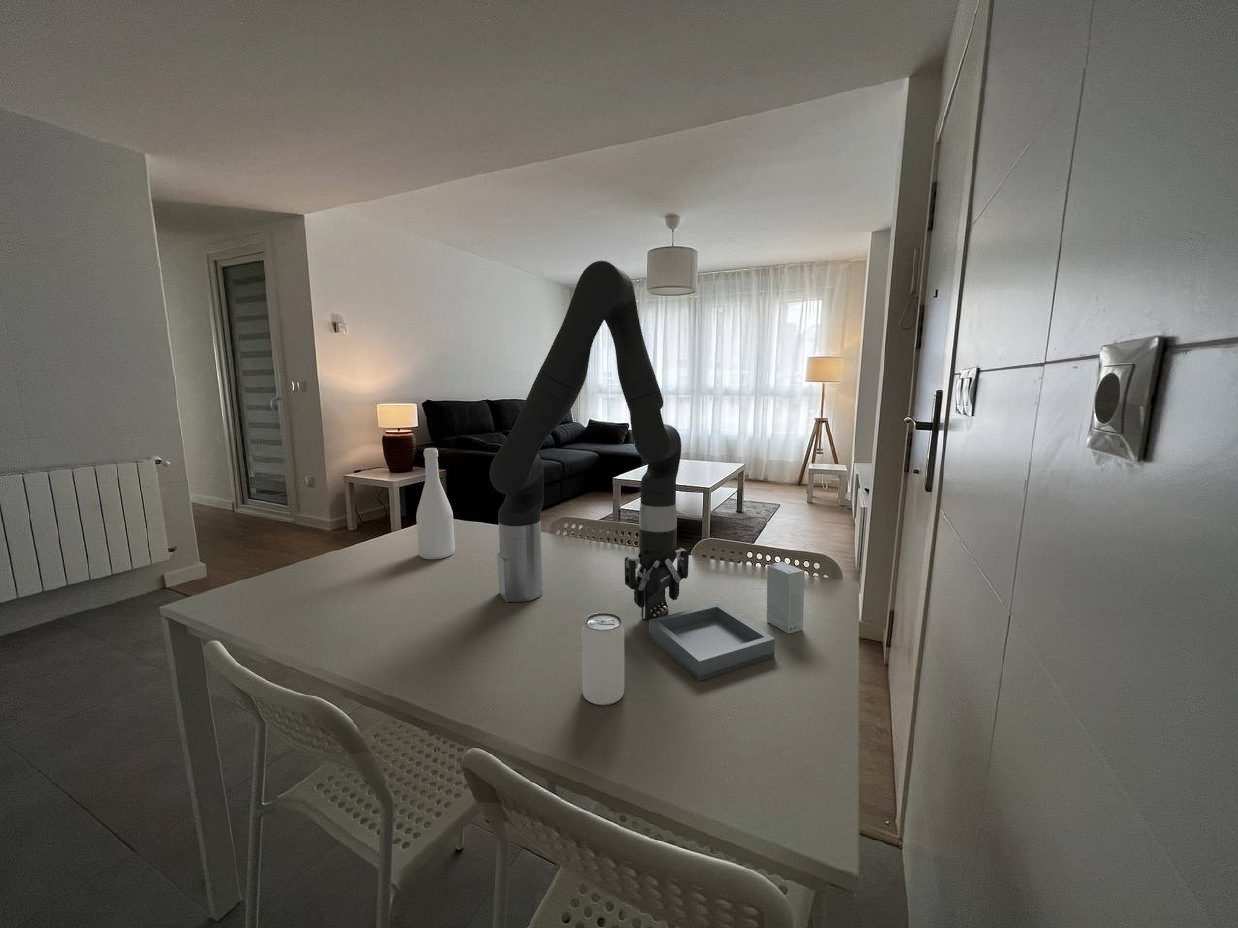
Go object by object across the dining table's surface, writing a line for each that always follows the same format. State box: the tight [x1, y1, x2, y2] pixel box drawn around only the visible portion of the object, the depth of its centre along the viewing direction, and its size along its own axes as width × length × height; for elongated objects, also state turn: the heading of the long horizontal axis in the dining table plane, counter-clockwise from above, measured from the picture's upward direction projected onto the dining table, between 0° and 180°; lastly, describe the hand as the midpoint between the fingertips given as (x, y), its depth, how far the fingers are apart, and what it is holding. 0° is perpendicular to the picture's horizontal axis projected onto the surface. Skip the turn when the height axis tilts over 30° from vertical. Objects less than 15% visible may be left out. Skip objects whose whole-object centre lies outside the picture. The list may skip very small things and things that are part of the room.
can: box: [581, 612, 625, 707], centre depth 76 cm, size 6×6×12 cm
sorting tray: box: [648, 602, 776, 682], centre depth 90 cm, size 16×16×4 cm
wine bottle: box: [415, 447, 456, 560], centre depth 138 cm, size 10×10×30 cm
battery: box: [640, 565, 672, 621], centre depth 102 cm, size 7×4×11 cm, turn 142°
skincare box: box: [766, 561, 805, 634], centre depth 98 cm, size 6×4×12 cm
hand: (656, 602), depth 103 cm, fingers closed on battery, 7 cm apart
